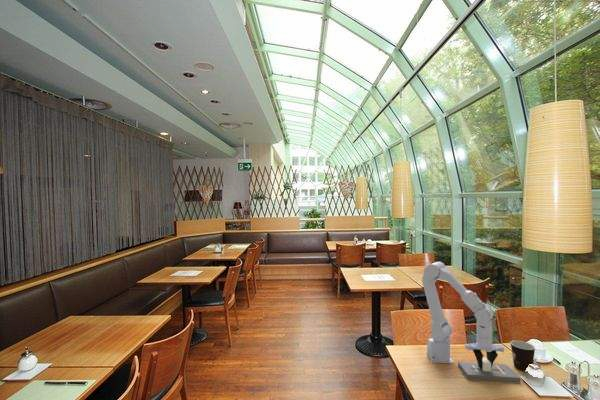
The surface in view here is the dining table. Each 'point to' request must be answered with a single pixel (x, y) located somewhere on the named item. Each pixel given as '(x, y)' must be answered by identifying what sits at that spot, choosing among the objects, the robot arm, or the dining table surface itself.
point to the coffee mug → (522, 354)
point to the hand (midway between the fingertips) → (484, 367)
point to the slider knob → (486, 365)
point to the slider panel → (497, 372)
